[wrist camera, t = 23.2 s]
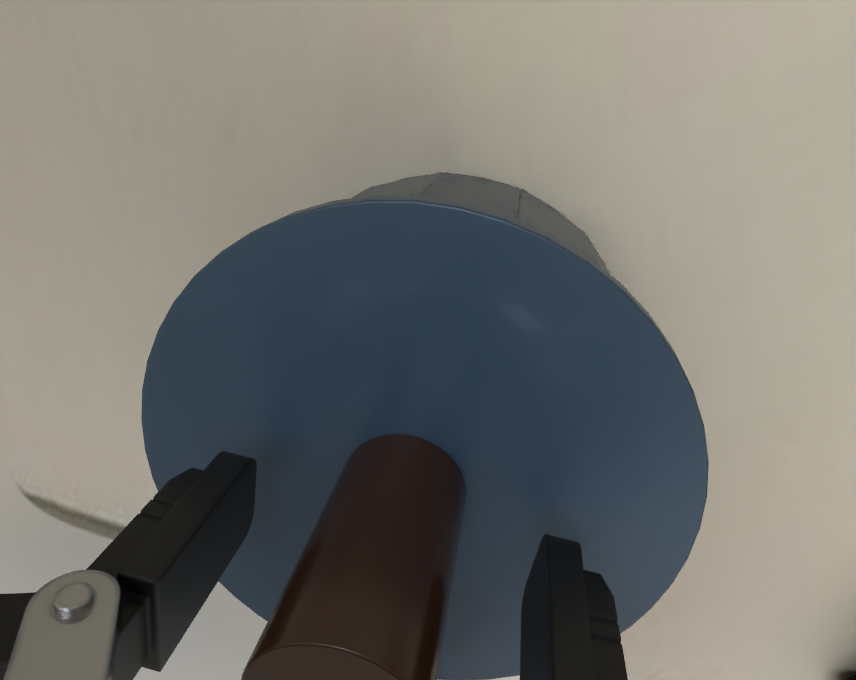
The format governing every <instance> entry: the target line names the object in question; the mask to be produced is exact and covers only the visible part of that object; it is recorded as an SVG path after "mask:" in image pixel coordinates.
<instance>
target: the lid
mask: <svg viewBox="0 0 856 680" xmlns="http://www.w3.org/2000/svg"><path fill="white" fill-rule="evenodd" d="M142 427H143V435H144V444H145V450H146V454H147V458H148V462H149V466H150V469H151V473H152V477H153V480H154V482H155V485H156V487H157V490H158V492H159V491H160V490H161V489H162V487H163V486H164V485H165V484H166V483H167V482H168V481H169V480H170V479H172V478H174V477H176V476H177V475H179V474H181V473H183V472H185V471H186V470H188V469H190V468H196V469H200V470H205V468H206V467H207V466H208V465H209V464H210V463H211V461H212V460H213V459H214V458H215V457H216V456H217V455H218V454H219V453H220V452H221V451H226V452H230V453H234V454H238V455H242V456H246V457H250V458H254V459H255V460H256V462H257V472H256V489H255V507H254V515H253V520H252V523H251V526H250V529H249V531H248V534H247V536H246V538H245V539H244V541H243V543H242V544H241V546H240V547H239V549H238V550H237V552H236V554H235V555H234V557H233V558H232V560H231V561H230V563H229V565H228V566H227V568H226V569H225V571H224V572H223V574H222V576H221V577H220V579H219V580H218V581H219V582H220V583H221V584H222V585H223V586H224V587H225V588H226V589H227V590H229V592H231V593H232V594H233V595H234V596H235V597H236V598H237V599H239V600H240V601H241V602H242V603H244V604H245V605H246V606H247V607H249V608H250V609H251V610H252V611H254V612H255V613H256V614H258V615H259V616H261V617H262V618H263V619H265V620H266V621H268V623H267V625H266V627H265V629H264V631H263V633H262V635H261V637H260V639H259V641H258V643H257V645H256V647H255V649H254V651H253V653H252V655H251V657H250V659H249V661H248V663H247V665H246V667H245V669H244V672H243V675H242V679H241V680H437V679H439V680H485V679H495V678H502V677H510V676H517V675H520V644H521V608H522V600H523V594H524V590H525V586H526V582H527V580H528V577H529V574H530V571H531V568H532V565H533V562H534V559H535V557H536V554H537V551H538V548H539V545H540V542H541V540H542V537H543V536H544V534H548V535H552V536H556V537H560V538H564V539H568V540H572V541H576V542H579V543H580V545H581V551H582V560H583V569H584V570H587V571H591V572H595V573H598V574H601V575H602V577H603V579H604V581H605V582H606V584H607V586H608V587H609V589H610V591H611V593H612V594H613V596H614V600H615V606H616V612H617V618H618V621H617V625H619V630H620V633H622V632H623V631H625V630H626V629H628V628H629V627H630V626H632V625H633V624H634V623H635V622H636V621H637V620H638V619H640V618H641V617H642V616H643V615H644V614H645V613H646V612H647V611H649V610H650V609H651V608H652V607H653V606H654V605H655V603H656V602H657V601H658V600H659V599H660V597H661V596H662V595H663V594H664V593H665V592H666V590H667V589H668V588H669V587H670V586H671V584H672V583H673V581H674V580H675V578H676V576H677V575H678V573H679V571H680V570H681V568H682V566H683V565H684V563H685V562H686V560H687V558H688V556H689V554H690V551H691V549H692V546H693V544H694V541H695V539H696V536H697V534H698V531H699V529H700V525H701V520H702V516H703V511H704V507H705V502H706V498H707V484H708V462H709V461H708V453H707V446H706V438H705V430H704V424H703V421H702V418H701V414H700V411H699V408H698V404H697V401H696V398H695V394H694V391H693V389H692V387H691V385H690V383H689V381H688V379H687V377H686V374H685V372H684V370H683V368H682V366H681V364H680V362H679V360H678V358H677V356H676V354H675V352H674V350H673V349H672V347H671V345H670V344H669V342H668V341H667V339H666V338H665V336H664V335H663V333H662V332H661V331H660V329H659V328H658V326H657V325H656V323H655V322H654V320H653V319H652V318H651V316H650V315H649V313H648V312H647V311H646V310H645V309H644V308H643V307H642V306H641V305H640V303H639V302H638V301H637V300H636V299H635V298H634V297H633V296H632V295H631V294H630V293H629V292H628V291H627V290H626V288H625V287H624V286H623V285H622V284H621V283H620V282H619V281H618V280H616V279H615V278H614V277H613V276H611V275H610V274H609V273H608V272H606V271H605V270H604V269H603V268H601V267H600V266H599V265H598V264H596V263H595V262H594V261H593V260H591V259H590V258H589V257H588V256H587V255H585V254H583V253H582V252H580V251H578V250H577V249H575V248H573V247H572V246H570V245H568V244H567V243H565V242H563V241H562V240H560V239H559V238H557V237H555V236H554V235H552V234H550V233H549V232H547V231H544V230H542V229H540V228H537V227H535V226H533V225H530V224H528V223H526V222H523V221H521V220H519V219H516V218H514V217H512V216H510V215H507V214H504V213H501V212H497V211H494V210H490V209H486V208H483V207H479V206H476V205H472V204H469V203H465V202H460V201H453V200H446V199H439V198H432V197H425V196H408V195H374V196H366V197H359V198H351V199H344V200H336V201H332V202H328V203H324V204H321V205H317V206H314V207H310V208H307V209H303V210H299V211H296V212H294V213H291V214H289V215H287V216H285V217H283V218H280V219H278V220H276V221H274V222H271V223H269V224H267V225H265V226H262V227H260V228H258V229H256V230H255V231H253V232H251V233H249V234H248V235H246V236H245V237H243V238H242V239H240V240H238V241H237V242H235V243H234V244H232V245H231V246H229V247H228V248H226V249H225V250H223V251H222V252H220V253H219V254H218V255H217V256H216V257H215V258H214V259H212V260H211V261H210V262H209V263H208V264H207V265H206V266H205V267H204V268H203V269H201V270H200V271H199V272H198V273H197V274H196V275H195V276H194V277H193V278H192V280H191V281H190V282H189V283H188V285H187V286H186V287H185V288H184V290H183V291H182V292H181V294H180V295H179V296H178V297H177V299H176V300H175V301H174V303H173V304H172V306H171V308H170V310H169V312H168V313H167V315H166V317H165V319H164V321H163V323H162V324H161V326H160V328H159V330H158V332H157V335H156V338H155V341H154V344H153V347H152V349H151V352H150V355H149V358H148V361H147V367H146V372H145V378H144V384H143V389H142Z"/></svg>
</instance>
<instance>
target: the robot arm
mask: <svg viewBox="0 0 856 680" xmlns="http://www.w3.org/2000/svg"><path fill="white" fill-rule="evenodd" d="M256 472H257V462H256V460H255V459H254V458H250V457H246V456H242V455H238V454H234V453H230V452H226V451H221V452H220V453H219V454H218V455H217V456H216V457H215V458H214V459H213V460H212V461H211V463H210V464H209V465H208V466H207V467H206V468H205V470H200V469H196V468H190V469H188V470H186V471H185V472H183V473H181V474H179V475H177V476H176V477H174V478H172V479H170V480H169V481H168V482H167V483H166V484H165V485H164V486H163V487H162V489H161V490H160V491H159V492H158V493H157V494H156V495H155V496H154V499H153V500H150V502H149V503H148V504H147V505H146V506H145V507H144V508H143V509H142V510H141V513H140V514H138V515H137V516H136V517H135V518H134V519H133V520H132V521H131V522H130V523H129V524H128V525H127V526H126V527H125V529H124V530H123V531H122V532H121V533H120V534H119V535H118V536H117V537H116V538H115V539H114V540H113V542H112V543H111V544H110V545H109V546H108V547H107V548H106V549H105V550H104V551H103V552H102V553H101V555H100V556H99V557H98V558H97V559H96V560H95V561H94V562H93V563H92V564H91V565H90V566H89V567H88V568H87V569H86V570H79V571H74V572H70V573H67V574H64V575H62V576H59V577H57V578H55V579H53V580H51V581H50V582H49V583H47V584H45V585H44V586H43V587H42V588H40V589H39V590H38V591H37V592H35V593H17V594H0V680H133V679H134V677H135V676H136V674H137V672H138V671H139V669H140V668H141V667H145V668H148V669H151V670H155V671H159V672H160V671H161V670H162V668H163V667H164V665H165V664H166V662H167V661H168V659H169V657H170V656H171V654H172V653H173V651H174V649H175V648H176V646H177V644H178V643H179V642H180V640H181V639H182V637H183V635H184V634H185V632H186V631H187V629H188V628H189V626H190V624H191V623H192V621H193V620H194V618H195V616H196V615H197V613H198V612H199V610H200V609H201V607H202V605H203V604H204V602H205V601H206V599H207V598H208V596H209V594H210V593H211V591H212V590H213V588H214V587H215V585H216V583H217V582H218V580H219V579H220V577H221V576H222V574H223V572H224V571H225V569H226V568H227V566H228V565H229V563H230V561H231V560H232V558H233V557H234V555H235V554H236V552H237V550H238V549H239V547H240V546H241V544H242V543H243V541H244V539H245V538H246V536H247V534H248V531H249V529H250V526H251V523H252V520H253V515H254V507H255V489H256ZM617 621H618V618H617V612H616V606H615V600H614V596H613V594H612V593H611V591H610V589H609V587H608V586H607V584H606V582H605V581H604V579H603V577H602V575H601V574H598V573H595V572H591V571H587V570H584V569H583V560H582V551H581V545H580V543H579V542H576V541H572V540H568V539H564V538H560V537H556V536H552V535H548V534H544V536H543V537H542V540H541V542H540V545H539V548H538V551H537V554H536V557H535V559H534V562H533V565H532V568H531V571H530V574H529V577H528V580H527V582H526V586H525V590H524V594H523V600H522V608H521V644H520V680H628V679H627V673H626V667H625V661H624V654H623V648H622V644H620V642H621V636H620V630H619V625H617Z"/></svg>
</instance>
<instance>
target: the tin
mask: <svg viewBox="0 0 856 680" xmlns="http://www.w3.org/2000/svg"><path fill="white" fill-rule="evenodd" d="M374 195H408V196H425V197H432V198H439V199H446V200H453V201H460V202H465V203H469V204H472V205H476V206H479V207H483V208H486V209H490V210H494V211H497V212H501V213H504V214H507V215H510V216H512V217H514V218H516V219H519V220H521V221H523V222H526V223H528V224H530V225H533V226H535V227H537V228H540V229H542V230H544V231H547V232H549V233H550V234H552V235H554V236H555V237H557V238H559V239H560V240H562V241H563V242H565V243H567V244H568V245H570V246H572V247H573V248H575V249H577V250H578V251H580V252H582V253H583V254H585V255H587V256H588V257H589V258H590V259H591V260H593V261H594V262H595V263H596V264H598V265H599V266H600V267H601V268H603V269H604V270H605V271H606V272H608V273H609V271H608V270H607V268H606V266H605V264H604V262H603V260H602V259H601V257H600V256H599V255H598V253H597V251H596V250H595V248H594V246H593V244H592V243H591V241H590V239H589V238H588V236H586V235H585V233H584V232H583V231H582V230H580V229H579V228H577V227H576V226H574V225H573V224H572V223H571V222H570V221H569V220H567V219H566V218H565V217H564V216H563V215H561V214H560V213H559V212H558V211H556V210H555V209H554V208H552V207H551V206H549V205H548V204H546V203H544V202H543V201H541V200H539V199H538V198H536V197H534V196H533V195H531V194H529V193H528V192H526V191H525V190H523V189H521V190H520V189H519V188H517V187H512V186H510V185H507V184H504V183H500V182H497V181H493V180H490V179H486V178H481V177H474V176H467V175H460V174H450V173H444V174H443V173H436V174H431V175H424V176H416V177H409V178H405V179H402V180H398V181H394V182H391V183H387V184H383V185H378V186H373V187H370V188H368V189H366V190H364V191H362V192H361V193H359V194H357V195H356V196H354V197H352V198H359V197H366V196H374ZM609 274H610V273H609Z"/></svg>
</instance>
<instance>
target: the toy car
mask: <svg viewBox="0 0 856 680" xmlns="http://www.w3.org/2000/svg"><path fill="white" fill-rule="evenodd" d="M846 680H856V675H854V676H852V677H850V678H848V679H846Z"/></svg>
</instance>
